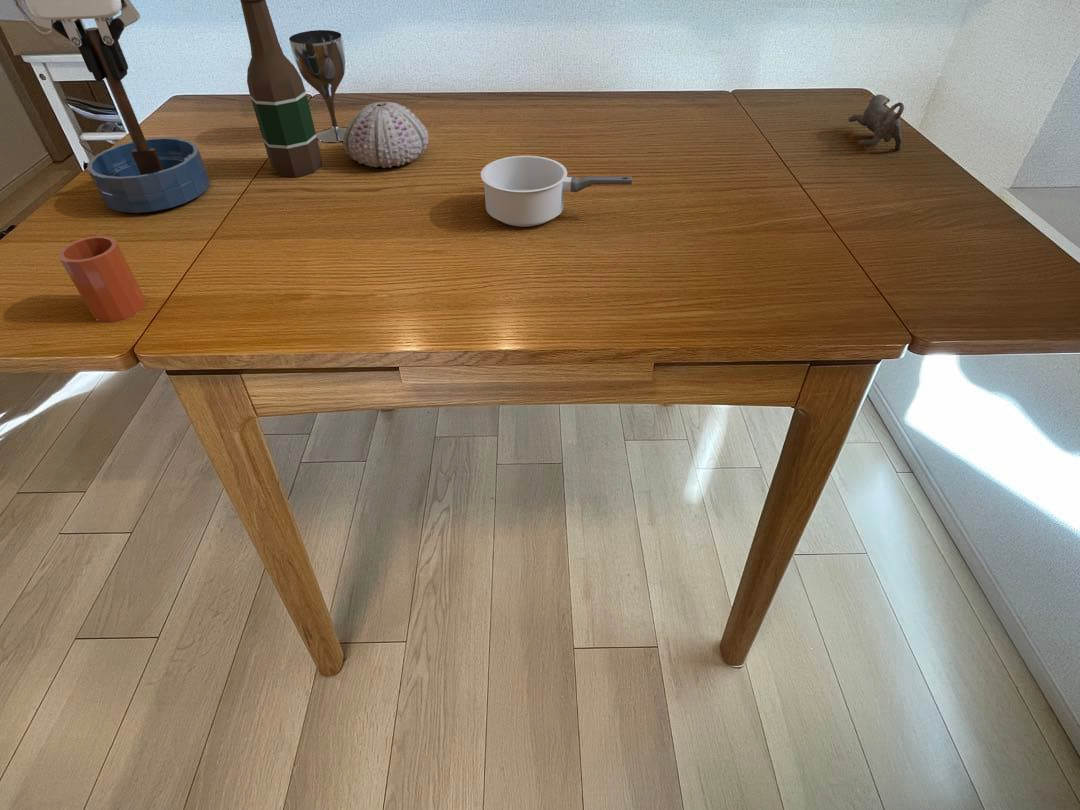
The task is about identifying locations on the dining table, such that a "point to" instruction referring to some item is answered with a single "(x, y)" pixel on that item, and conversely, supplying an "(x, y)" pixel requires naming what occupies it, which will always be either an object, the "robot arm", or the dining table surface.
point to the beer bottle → (279, 98)
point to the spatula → (126, 111)
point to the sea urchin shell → (385, 135)
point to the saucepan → (532, 188)
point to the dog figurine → (881, 121)
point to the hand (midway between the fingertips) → (112, 76)
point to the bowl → (149, 176)
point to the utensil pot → (103, 278)
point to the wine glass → (322, 70)
